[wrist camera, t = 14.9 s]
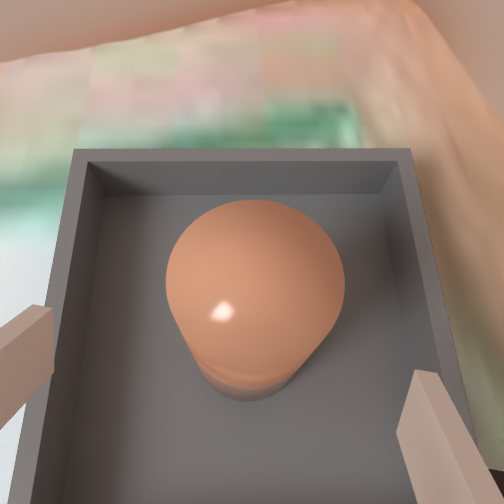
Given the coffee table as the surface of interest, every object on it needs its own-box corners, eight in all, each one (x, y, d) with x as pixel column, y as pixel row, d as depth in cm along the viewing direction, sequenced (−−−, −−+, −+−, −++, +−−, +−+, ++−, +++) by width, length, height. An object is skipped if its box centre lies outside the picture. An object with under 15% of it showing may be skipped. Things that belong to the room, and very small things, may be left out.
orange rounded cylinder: (296, 295, 28) (335, 199, 17) (303, 400, 25) (355, 366, 14) (196, 296, 28) (170, 199, 17) (192, 402, 25) (159, 369, 14)
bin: (386, 190, 33) (410, 148, 28) (457, 570, 23) (511, 600, 18) (97, 191, 32) (74, 148, 27) (37, 586, 22) (-16, 622, 17)
